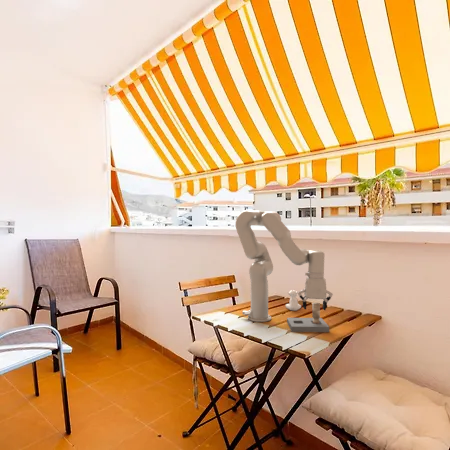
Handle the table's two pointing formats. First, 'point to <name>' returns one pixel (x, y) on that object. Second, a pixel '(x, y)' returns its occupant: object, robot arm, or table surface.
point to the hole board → (307, 325)
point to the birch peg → (316, 312)
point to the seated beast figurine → (293, 301)
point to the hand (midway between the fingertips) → (314, 309)
